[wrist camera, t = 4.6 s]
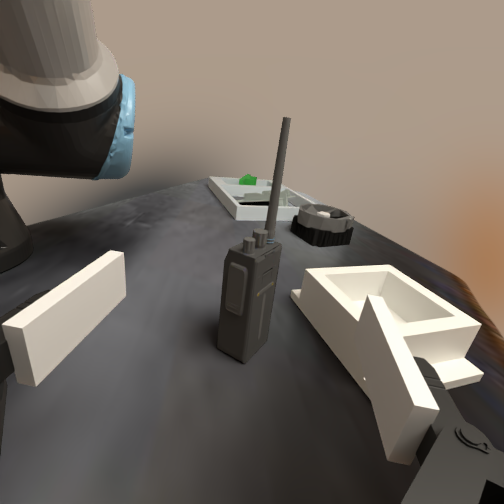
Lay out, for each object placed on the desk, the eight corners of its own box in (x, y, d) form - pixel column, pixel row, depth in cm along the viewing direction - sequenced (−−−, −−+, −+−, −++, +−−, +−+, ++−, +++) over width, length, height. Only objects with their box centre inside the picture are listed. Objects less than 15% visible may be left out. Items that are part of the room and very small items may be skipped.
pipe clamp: (249, 196, 82) (251, 181, 80) (237, 194, 83) (239, 179, 81) (256, 189, 92) (258, 175, 90) (245, 187, 92) (247, 173, 90)
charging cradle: (290, 296, 37) (297, 261, 35) (368, 290, 41) (378, 257, 39) (376, 407, 24) (395, 359, 22) (479, 381, 28) (504, 338, 26)
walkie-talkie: (241, 324, 31) (268, 115, 23) (269, 338, 30) (308, 120, 22) (211, 349, 27) (232, 109, 19) (242, 367, 26) (278, 115, 18)
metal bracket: (303, 187, 76) (266, 192, 65) (304, 210, 77) (268, 219, 66) (259, 190, 85) (221, 195, 74) (261, 211, 86) (224, 218, 76)
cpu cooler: (288, 202, 59) (328, 202, 64) (284, 229, 61) (322, 227, 66) (321, 219, 51) (364, 218, 55) (314, 250, 53) (356, 246, 58)
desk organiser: (208, 186, 88) (209, 176, 87) (273, 190, 95) (275, 180, 94) (235, 220, 62) (237, 206, 61) (322, 221, 69) (325, 208, 68)
